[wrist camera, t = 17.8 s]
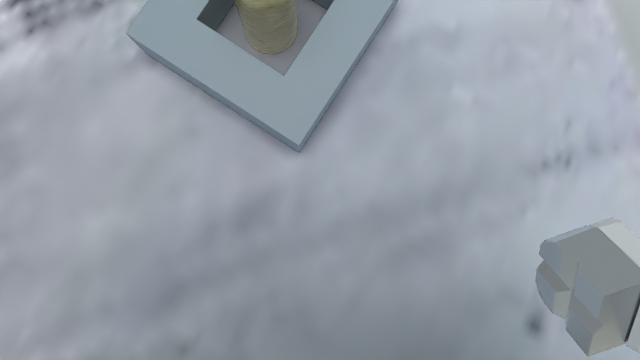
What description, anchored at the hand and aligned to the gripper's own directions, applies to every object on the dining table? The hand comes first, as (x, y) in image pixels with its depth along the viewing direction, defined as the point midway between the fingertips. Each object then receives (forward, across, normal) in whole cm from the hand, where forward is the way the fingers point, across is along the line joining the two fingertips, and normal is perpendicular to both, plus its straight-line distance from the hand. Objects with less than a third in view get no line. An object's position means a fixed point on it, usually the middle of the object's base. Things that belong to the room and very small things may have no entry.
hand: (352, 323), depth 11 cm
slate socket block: (+26, -4, +5) cm, 27 cm away
